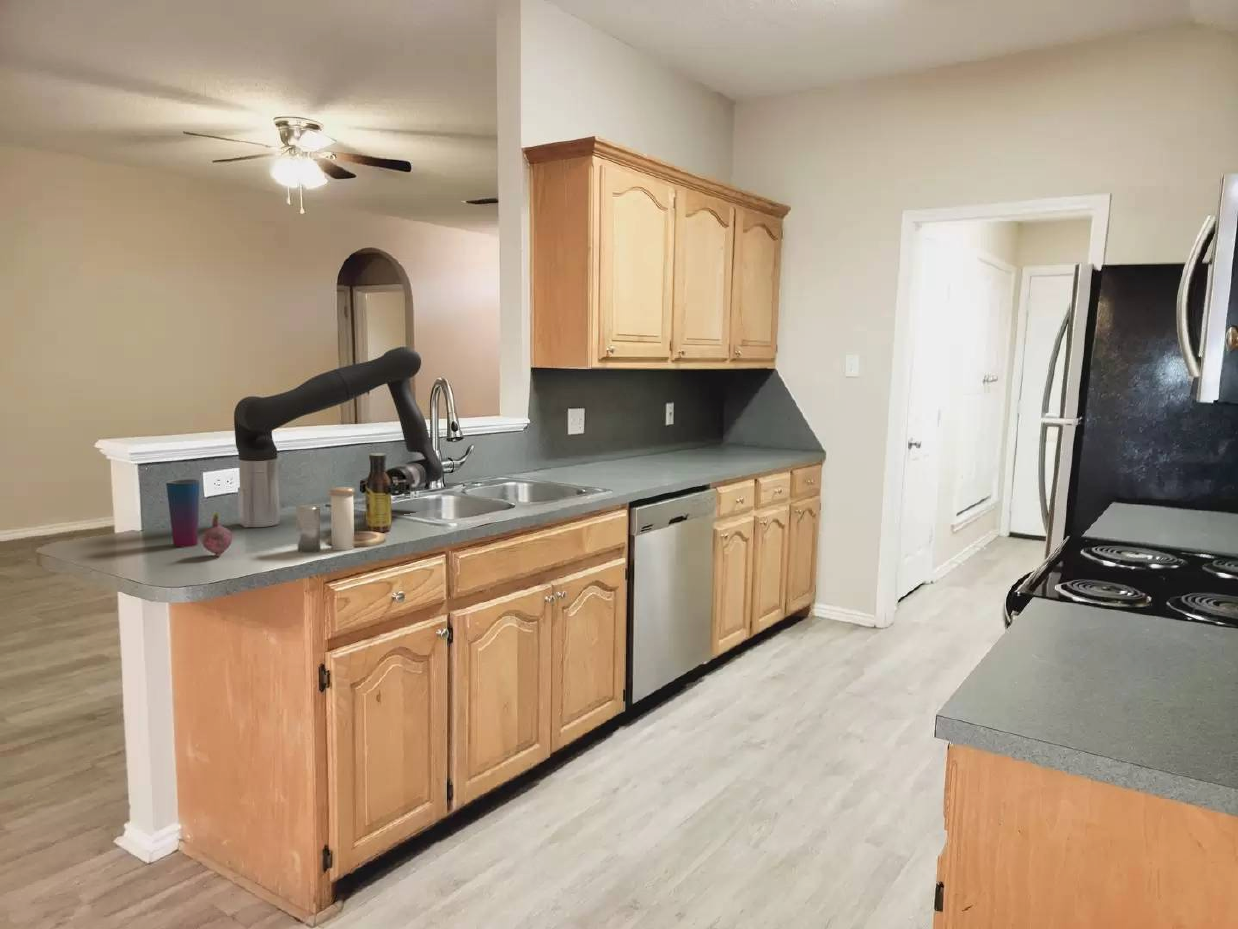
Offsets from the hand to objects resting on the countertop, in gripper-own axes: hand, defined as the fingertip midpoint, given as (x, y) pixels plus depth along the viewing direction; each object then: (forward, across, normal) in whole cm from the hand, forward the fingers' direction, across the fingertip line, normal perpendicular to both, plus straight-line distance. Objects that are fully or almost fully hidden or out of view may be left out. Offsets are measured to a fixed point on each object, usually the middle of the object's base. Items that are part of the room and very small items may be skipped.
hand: (374, 489), depth 211 cm
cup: (+23, -36, +11) cm, 44 cm away
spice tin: (+21, -6, +11) cm, 24 cm away
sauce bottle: (-2, 0, +11) cm, 11 cm away
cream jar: (+17, 0, +11) cm, 20 cm away
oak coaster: (+10, 0, +11) cm, 15 cm away
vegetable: (+31, -23, +11) cm, 40 cm away
